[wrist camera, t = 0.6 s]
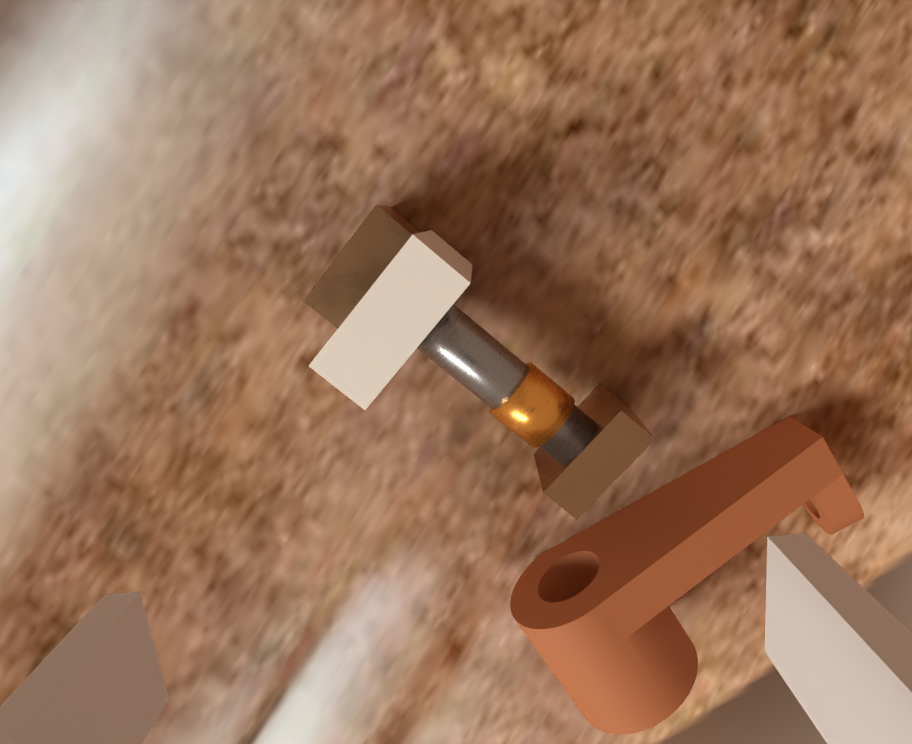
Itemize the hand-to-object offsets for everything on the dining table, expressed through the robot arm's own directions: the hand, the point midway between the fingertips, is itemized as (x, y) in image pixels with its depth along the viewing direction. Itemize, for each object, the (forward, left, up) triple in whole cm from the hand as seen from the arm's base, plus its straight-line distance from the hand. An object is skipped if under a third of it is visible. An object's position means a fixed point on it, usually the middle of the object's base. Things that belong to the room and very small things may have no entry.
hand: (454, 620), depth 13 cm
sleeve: (-5, +1, -25) cm, 25 cm away
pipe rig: (0, +1, -25) cm, 25 cm away
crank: (+18, -1, -25) cm, 31 cm away
